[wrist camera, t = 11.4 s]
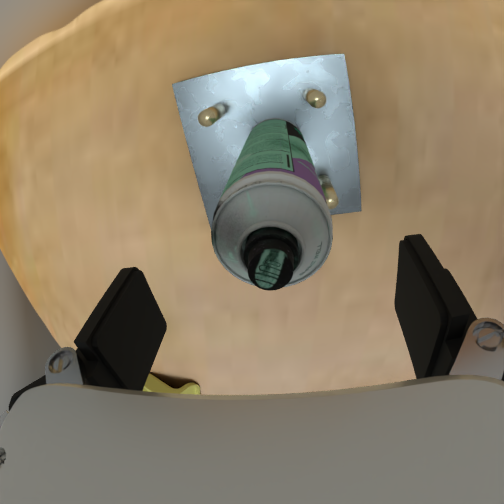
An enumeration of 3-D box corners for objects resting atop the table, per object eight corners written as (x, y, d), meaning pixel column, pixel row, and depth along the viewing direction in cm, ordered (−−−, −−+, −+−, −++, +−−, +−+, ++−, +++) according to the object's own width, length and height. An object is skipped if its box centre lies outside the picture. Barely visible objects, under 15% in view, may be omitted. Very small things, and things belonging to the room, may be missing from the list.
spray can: (254, 178, 30) (222, 333, 13) (240, 125, 28) (174, 223, 11) (309, 167, 29) (349, 315, 12) (298, 112, 26) (334, 190, 10)
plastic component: (131, 376, 50) (172, 405, 46) (158, 354, 56) (199, 379, 52) (149, 429, 60) (183, 453, 55) (169, 409, 65) (203, 431, 61)
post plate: (341, 54, 24) (357, 50, 19) (358, 205, 32) (373, 234, 27) (176, 83, 27) (152, 87, 21) (214, 224, 35) (201, 256, 30)
